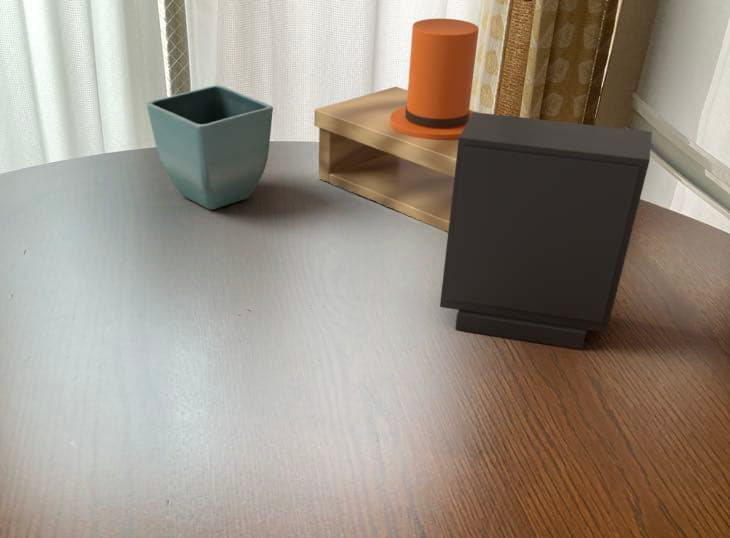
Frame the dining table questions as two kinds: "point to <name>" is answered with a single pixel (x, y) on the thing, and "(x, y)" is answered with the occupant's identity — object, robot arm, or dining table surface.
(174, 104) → the flower pot
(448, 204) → the stand
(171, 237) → the dining table surface
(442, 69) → the hat
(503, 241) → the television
